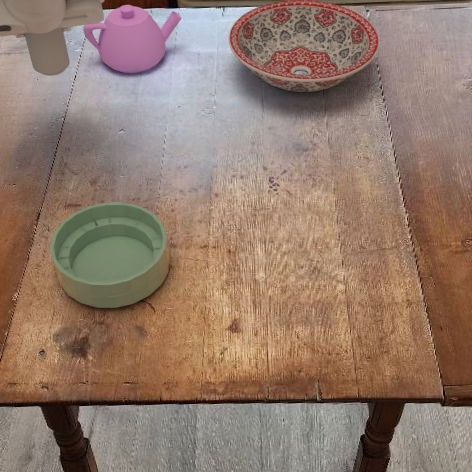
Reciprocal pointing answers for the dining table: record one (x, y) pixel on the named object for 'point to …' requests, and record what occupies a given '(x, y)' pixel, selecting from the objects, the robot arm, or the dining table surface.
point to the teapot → (131, 39)
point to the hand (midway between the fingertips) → (42, 29)
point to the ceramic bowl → (303, 43)
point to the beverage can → (48, 52)
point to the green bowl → (110, 254)
